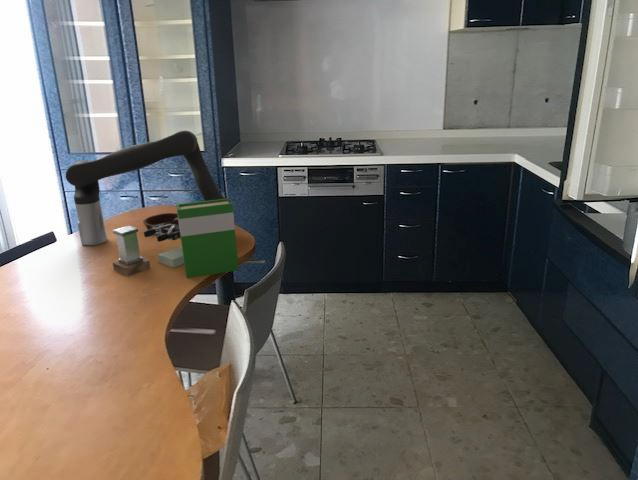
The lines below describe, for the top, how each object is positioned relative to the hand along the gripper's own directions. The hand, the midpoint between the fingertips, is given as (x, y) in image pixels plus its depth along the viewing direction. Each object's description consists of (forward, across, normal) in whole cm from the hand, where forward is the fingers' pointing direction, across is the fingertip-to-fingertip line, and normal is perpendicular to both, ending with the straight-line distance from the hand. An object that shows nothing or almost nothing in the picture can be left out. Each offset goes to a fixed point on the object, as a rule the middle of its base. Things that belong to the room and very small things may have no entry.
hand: (151, 236), depth 183 cm
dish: (-24, -28, +10) cm, 38 cm away
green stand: (-5, +7, +10) cm, 13 cm away
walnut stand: (+9, 0, +10) cm, 13 cm away
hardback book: (-7, +24, +10) cm, 27 cm away
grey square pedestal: (+9, 0, +6) cm, 11 cm away
